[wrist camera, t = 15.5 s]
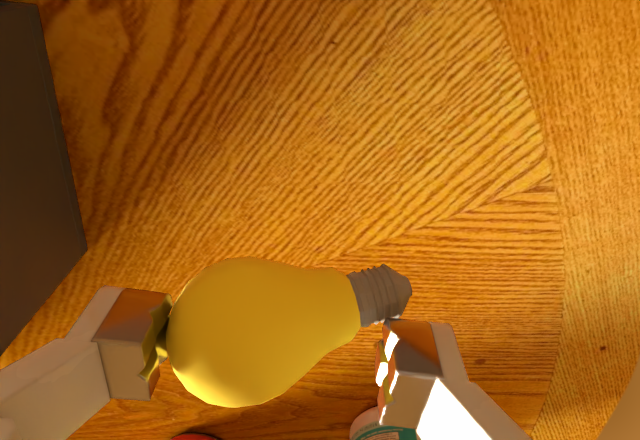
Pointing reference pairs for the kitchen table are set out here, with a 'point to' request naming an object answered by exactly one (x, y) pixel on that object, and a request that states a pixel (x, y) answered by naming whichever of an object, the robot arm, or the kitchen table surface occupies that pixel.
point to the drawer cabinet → (31, 176)
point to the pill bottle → (378, 428)
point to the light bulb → (270, 324)
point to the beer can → (193, 437)
